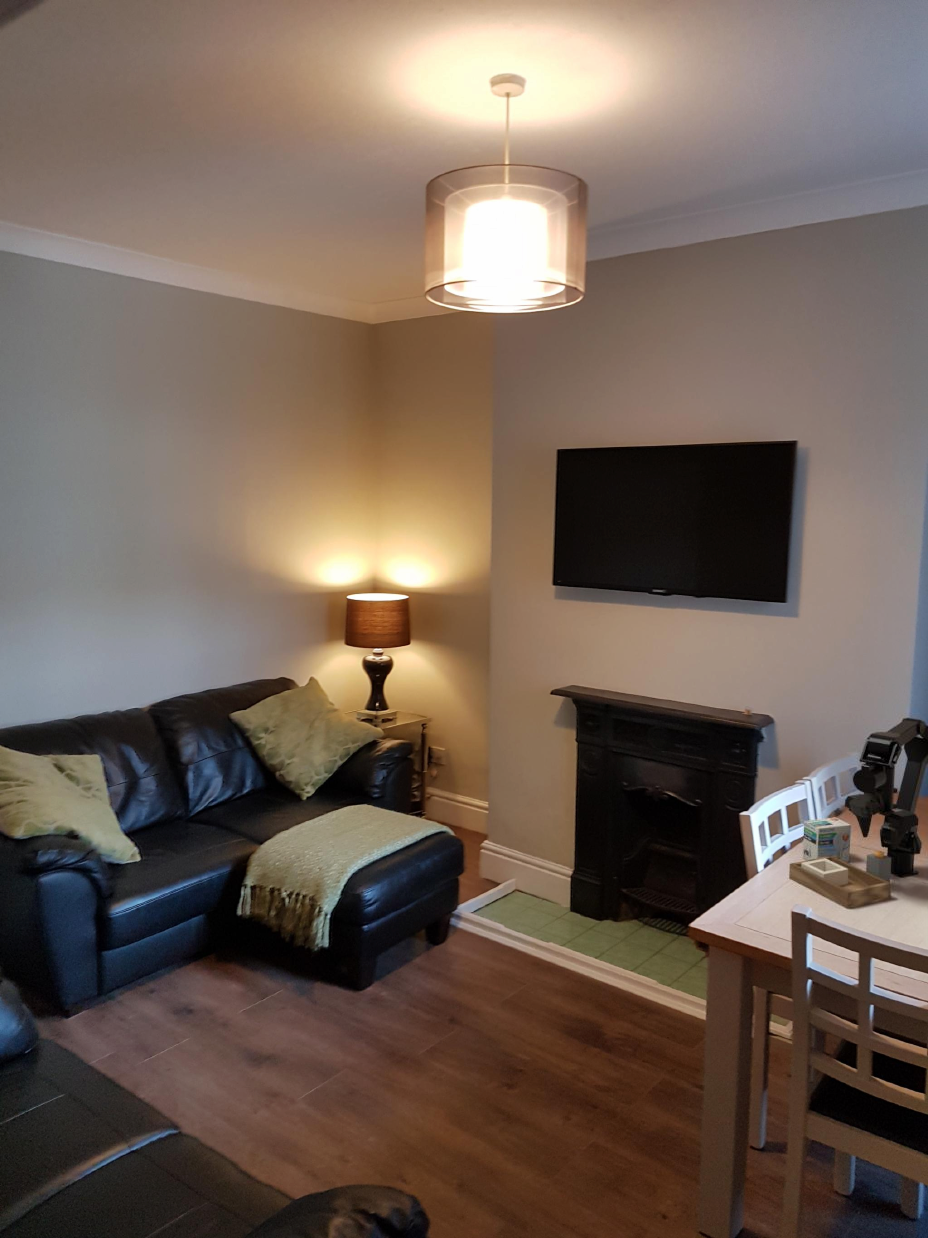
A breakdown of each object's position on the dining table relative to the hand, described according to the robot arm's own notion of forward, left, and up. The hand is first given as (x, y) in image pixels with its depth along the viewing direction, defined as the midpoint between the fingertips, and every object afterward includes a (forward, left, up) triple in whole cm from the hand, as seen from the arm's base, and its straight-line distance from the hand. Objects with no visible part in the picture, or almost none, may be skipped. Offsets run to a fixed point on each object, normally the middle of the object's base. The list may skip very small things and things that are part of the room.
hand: (879, 843), depth 233 cm
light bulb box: (-1, -19, -12) cm, 22 cm away
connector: (0, 0, -12) cm, 12 cm away
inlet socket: (+11, -7, -12) cm, 17 cm away
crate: (+10, -3, -12) cm, 15 cm away
